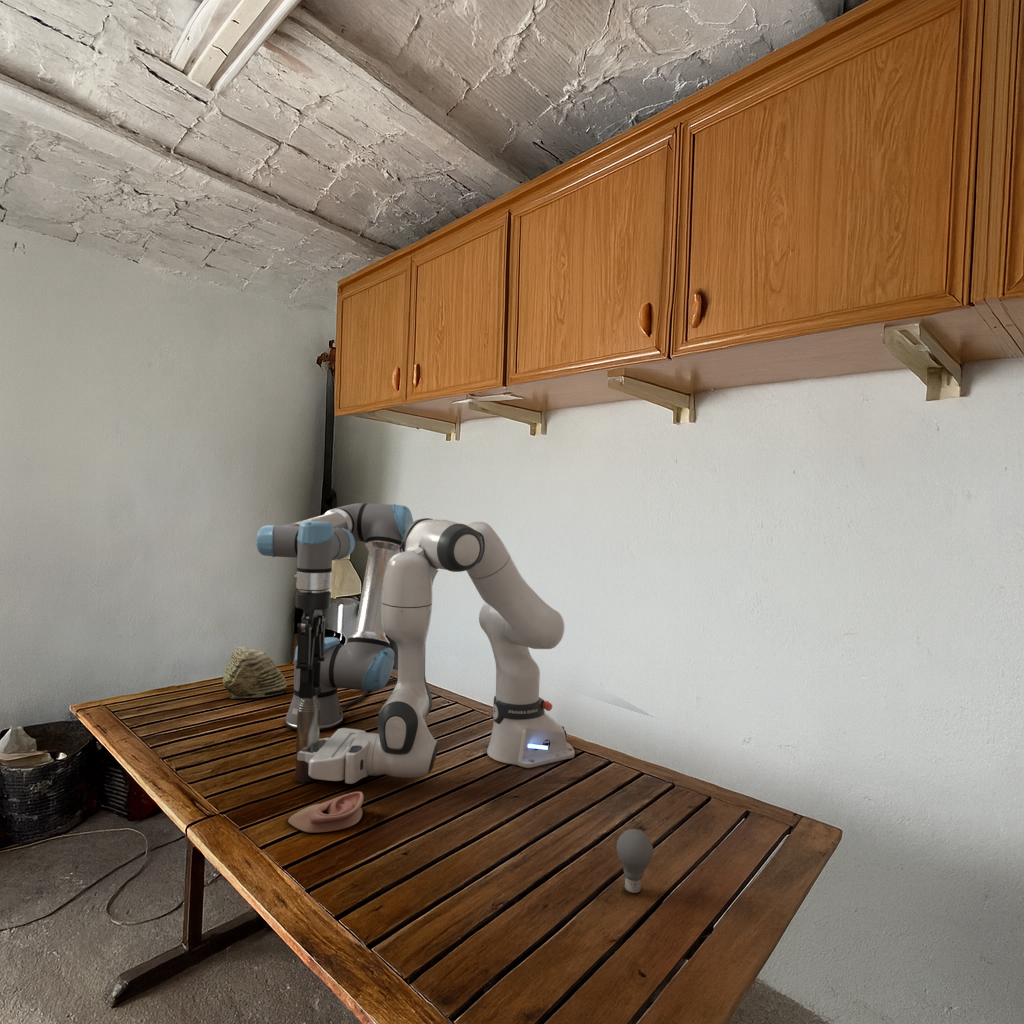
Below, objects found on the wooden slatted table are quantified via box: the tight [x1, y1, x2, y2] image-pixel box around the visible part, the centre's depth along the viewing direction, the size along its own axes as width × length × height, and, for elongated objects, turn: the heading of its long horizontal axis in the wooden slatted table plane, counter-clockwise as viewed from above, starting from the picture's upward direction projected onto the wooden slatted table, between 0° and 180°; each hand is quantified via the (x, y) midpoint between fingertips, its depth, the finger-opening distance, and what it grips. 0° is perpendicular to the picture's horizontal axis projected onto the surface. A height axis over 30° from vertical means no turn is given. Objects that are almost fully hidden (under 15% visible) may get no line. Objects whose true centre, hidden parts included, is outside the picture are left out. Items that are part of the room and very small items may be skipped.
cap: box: [299, 683, 321, 696], centre depth 142 cm, size 5×5×2 cm
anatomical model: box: [287, 791, 364, 834], centre depth 124 cm, size 13×4×12 cm
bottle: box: [294, 696, 321, 784], centre depth 142 cm, size 5×5×20 cm
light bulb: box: [615, 828, 654, 894], centre depth 106 cm, size 6×6×10 cm
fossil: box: [222, 646, 288, 699], centre depth 198 cm, size 9×18×15 cm, turn 132°
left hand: (309, 693), depth 142 cm, fingers closed on cap, 4 cm apart
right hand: (303, 749), depth 142 cm, fingers closed on bottle, 5 cm apart
